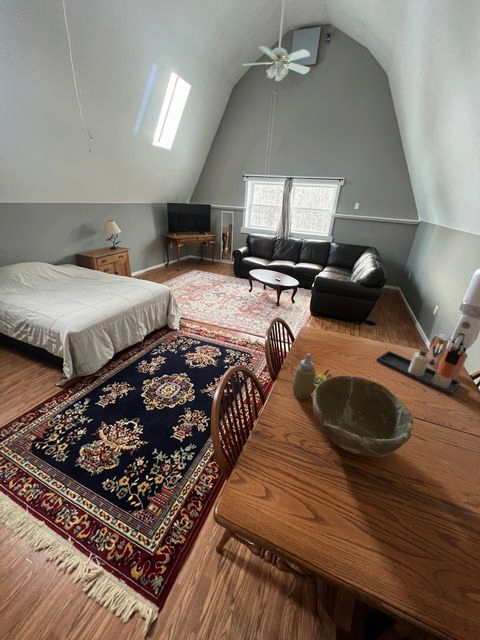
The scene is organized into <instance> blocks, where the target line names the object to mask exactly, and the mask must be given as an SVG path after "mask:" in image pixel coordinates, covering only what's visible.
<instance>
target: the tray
mask: <svg viewBox="0 0 480 640" xmlns="http://www.w3.org/2000/svg"><path fill="white" fill-rule="evenodd" d="M411 361H412V359H409V358H406V357H404V356H402V355H399V354H397V353H395V352H393V351H390V350H387V351H386V352H385V353H383V354H382V355H380V356H379V357H377V358H376V362H377V363H380V364H382V365H383V366H385V367H388V368H389V369H392V370H394V371H396V372H398V373H400V374H402V375H405V376H406V377H409V378H411V379H413V380H415V381H417V382H419V383H421V384H424V385H426V386H428V387H431V389H434V390H436V391H439V392H440V393H442V394H445V395H447V396H448V397H452V396H453V394H454V393H455V392H456V391H457V389H459V387H460V386H461V384H462V382H461V381H459V380H457V379H452V381H451V383H450V385H449V387H448V388H442V387H440V386H438V385H436V384H434V383H433V382H432V380H433V377H434V375H435V373H436V371H437V370H434V369H431V367H428V366H427V367H426V370H425V372H424V374H423V376H416V375H414V374H412V373H410V372H409V371H408V369H409V366H410V364H411Z"/></svg>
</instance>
